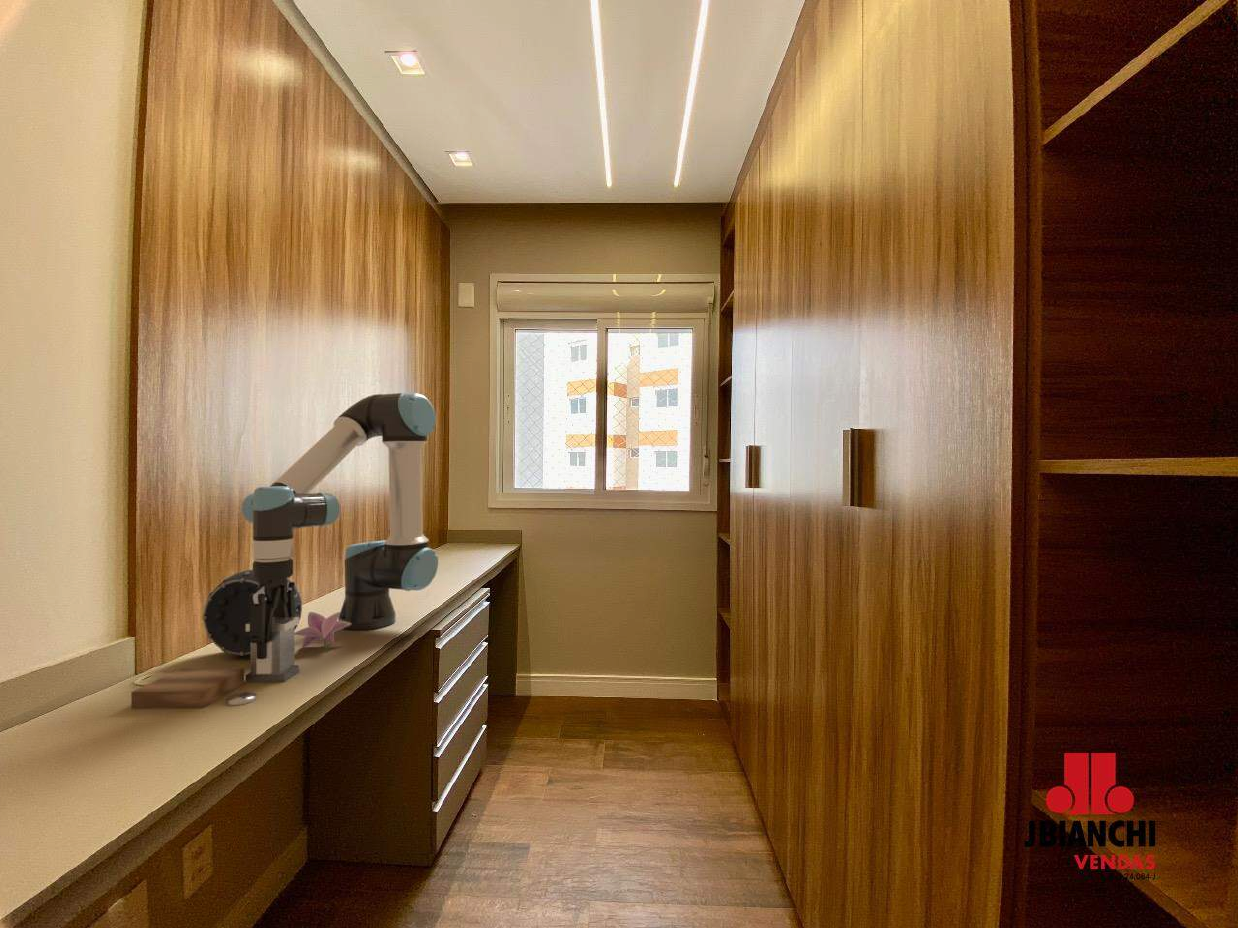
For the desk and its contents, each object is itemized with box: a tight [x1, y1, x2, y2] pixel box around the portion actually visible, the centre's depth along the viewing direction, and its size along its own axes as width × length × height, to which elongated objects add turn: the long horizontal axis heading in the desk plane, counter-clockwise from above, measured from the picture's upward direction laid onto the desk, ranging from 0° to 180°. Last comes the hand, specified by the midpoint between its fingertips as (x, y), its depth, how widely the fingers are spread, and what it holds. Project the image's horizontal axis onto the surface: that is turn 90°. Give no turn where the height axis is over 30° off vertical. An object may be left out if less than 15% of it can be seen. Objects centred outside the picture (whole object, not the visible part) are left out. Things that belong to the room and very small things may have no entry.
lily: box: [294, 611, 351, 654], centre depth 150 cm, size 12×12×10 cm
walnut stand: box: [130, 667, 245, 709], centre depth 120 cm, size 13×13×3 cm
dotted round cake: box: [201, 569, 303, 659], centre depth 146 cm, size 11×20×20 cm, turn 92°
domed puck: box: [225, 691, 258, 707], centre depth 117 cm, size 5×5×1 cm
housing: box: [245, 617, 300, 683], centre depth 130 cm, size 6×8×12 cm
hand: (272, 667), depth 130 cm, fingers closed on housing, 6 cm apart
